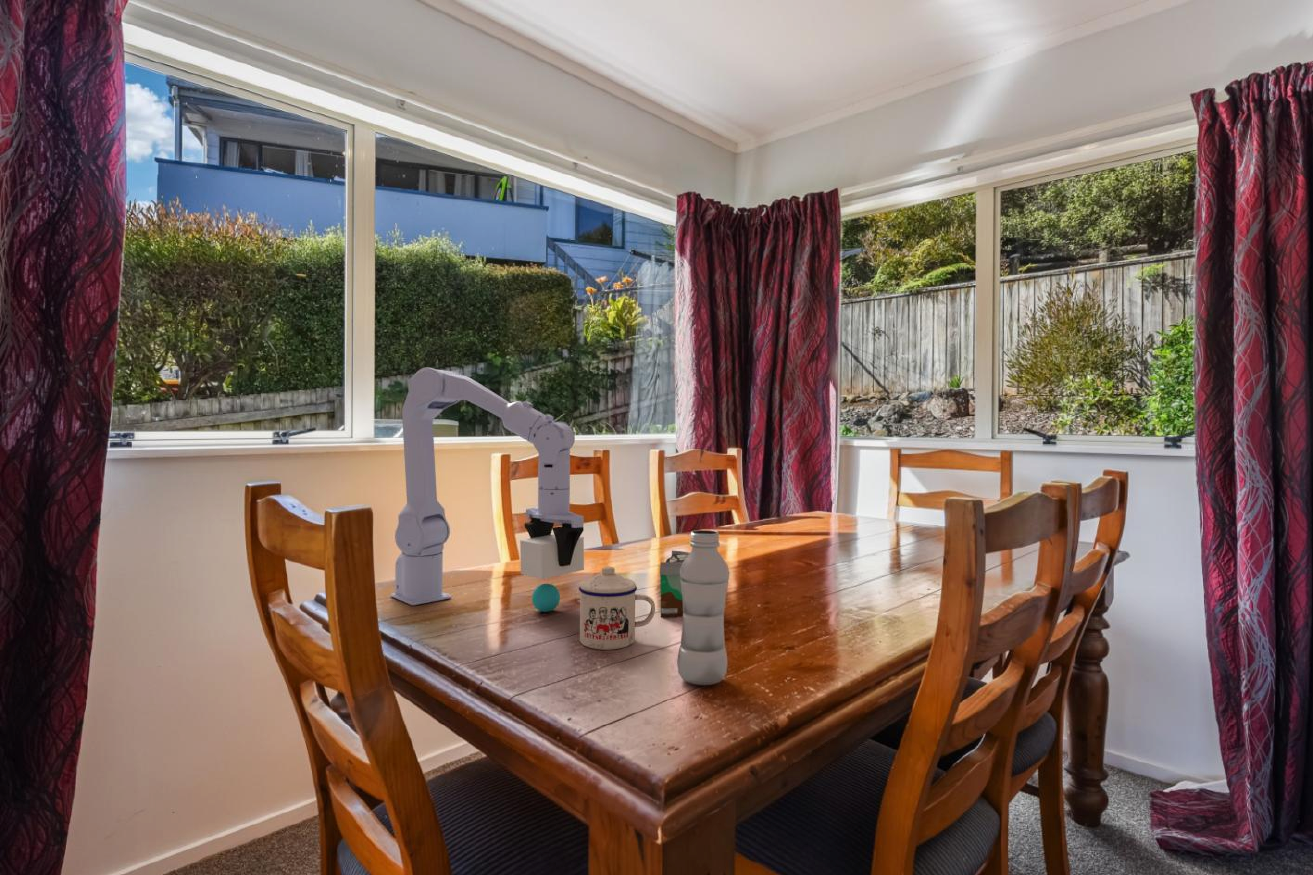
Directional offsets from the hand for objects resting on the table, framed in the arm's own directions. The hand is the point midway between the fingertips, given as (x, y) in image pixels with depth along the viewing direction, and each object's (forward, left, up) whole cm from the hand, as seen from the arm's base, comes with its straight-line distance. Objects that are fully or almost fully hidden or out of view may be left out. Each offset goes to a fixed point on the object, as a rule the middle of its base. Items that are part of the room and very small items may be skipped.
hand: (553, 562), depth 121 cm
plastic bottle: (+41, -7, -9) cm, 42 cm away
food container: (+17, +16, -9) cm, 25 cm away
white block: (0, 0, -2) cm, 2 cm away
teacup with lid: (+21, -4, -9) cm, 23 cm away
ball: (0, -2, -6) cm, 6 cm away
